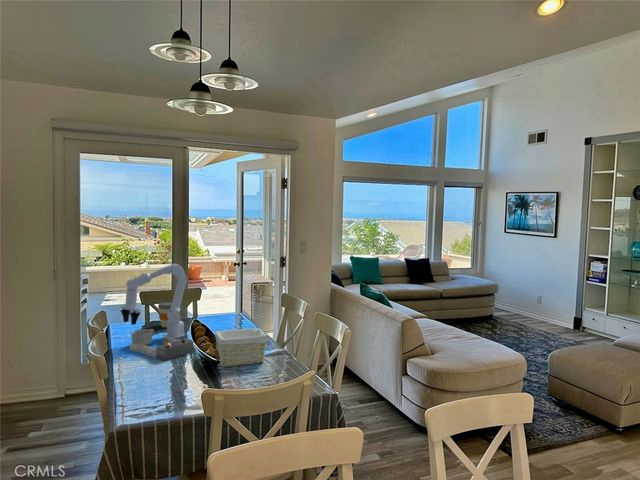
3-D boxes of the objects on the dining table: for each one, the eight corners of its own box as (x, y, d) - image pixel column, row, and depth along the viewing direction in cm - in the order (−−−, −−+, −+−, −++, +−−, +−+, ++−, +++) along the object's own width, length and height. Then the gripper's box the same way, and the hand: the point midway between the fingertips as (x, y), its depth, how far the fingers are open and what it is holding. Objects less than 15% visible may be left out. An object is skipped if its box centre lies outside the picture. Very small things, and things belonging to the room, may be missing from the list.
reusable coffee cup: (157, 324, 285) (157, 302, 284) (177, 322, 291) (177, 300, 290) (158, 328, 274) (158, 305, 273) (179, 327, 279) (179, 304, 278)
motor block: (164, 341, 248) (164, 329, 247) (197, 350, 232) (197, 337, 232) (129, 351, 229) (129, 337, 229) (161, 362, 214) (161, 348, 213)
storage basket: (259, 353, 230) (259, 326, 229) (267, 363, 215) (267, 335, 214) (214, 358, 221) (214, 330, 220) (219, 369, 206) (220, 339, 205)
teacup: (138, 349, 232) (137, 335, 232) (127, 345, 239) (127, 331, 238) (161, 343, 244) (161, 329, 243) (150, 339, 250) (150, 326, 250)
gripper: (117, 298, 246) (116, 321, 246) (132, 302, 238) (130, 326, 238) (128, 297, 252) (127, 320, 252) (143, 301, 244) (142, 324, 244)
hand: (129, 323), depth 246 cm, fingers open, 7 cm apart
